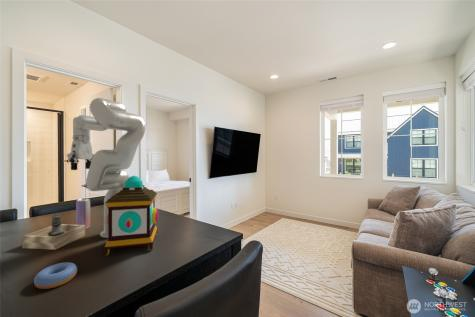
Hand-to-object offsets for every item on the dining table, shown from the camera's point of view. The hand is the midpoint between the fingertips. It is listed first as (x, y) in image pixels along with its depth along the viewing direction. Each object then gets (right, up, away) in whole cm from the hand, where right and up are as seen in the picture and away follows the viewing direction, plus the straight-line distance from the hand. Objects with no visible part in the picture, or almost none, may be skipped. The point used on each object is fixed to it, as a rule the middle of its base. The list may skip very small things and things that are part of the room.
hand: (81, 169), depth 115 cm
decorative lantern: (+44, -31, -28) cm, 61 cm away
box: (+8, -31, -25) cm, 41 cm away
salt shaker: (+8, -30, -25) cm, 40 cm away
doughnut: (+33, -32, -53) cm, 70 cm away
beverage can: (+7, -31, -8) cm, 33 cm away
